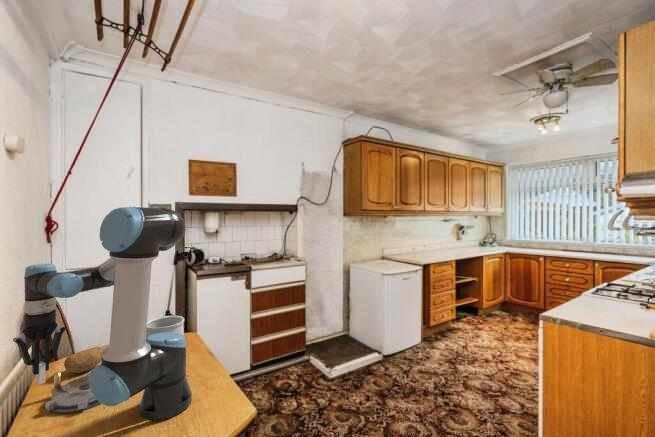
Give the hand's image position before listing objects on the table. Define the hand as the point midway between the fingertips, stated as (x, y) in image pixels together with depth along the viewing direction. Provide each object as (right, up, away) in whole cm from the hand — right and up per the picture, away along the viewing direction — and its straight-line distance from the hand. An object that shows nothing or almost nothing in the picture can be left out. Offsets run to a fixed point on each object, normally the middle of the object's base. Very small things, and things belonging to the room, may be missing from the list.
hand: (40, 382), depth 100 cm
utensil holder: (+27, -7, +27) cm, 39 cm away
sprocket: (+13, -5, +4) cm, 14 cm away
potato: (-2, -7, +21) cm, 22 cm away
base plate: (+13, -7, +4) cm, 15 cm away
